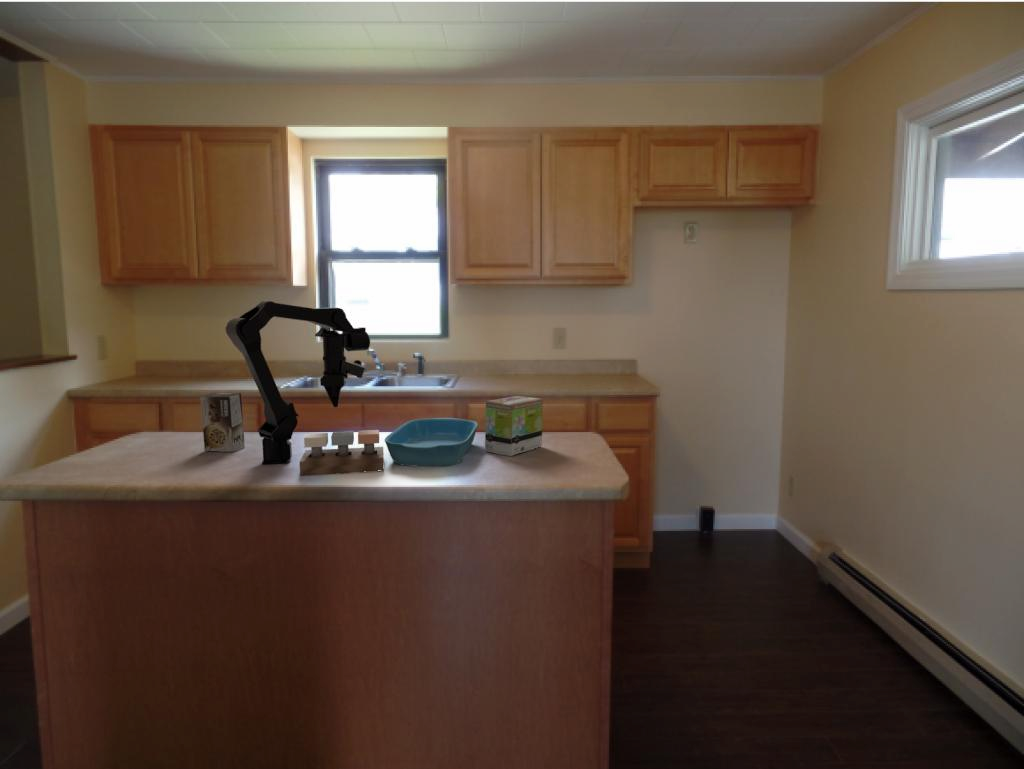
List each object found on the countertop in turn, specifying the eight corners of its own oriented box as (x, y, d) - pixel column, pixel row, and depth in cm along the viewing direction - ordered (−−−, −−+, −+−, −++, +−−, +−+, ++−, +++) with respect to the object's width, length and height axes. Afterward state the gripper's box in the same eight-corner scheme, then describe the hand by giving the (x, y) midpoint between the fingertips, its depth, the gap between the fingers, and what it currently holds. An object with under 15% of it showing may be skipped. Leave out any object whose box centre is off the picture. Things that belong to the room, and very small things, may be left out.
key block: (300, 475, 150) (299, 461, 150) (306, 463, 162) (305, 450, 161) (383, 471, 154) (383, 457, 154) (383, 459, 166) (383, 446, 165)
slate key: (332, 459, 154) (331, 436, 154) (333, 454, 160) (332, 432, 159) (353, 458, 156) (352, 435, 155) (354, 453, 161) (353, 431, 160)
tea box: (512, 457, 168) (512, 404, 166) (484, 452, 174) (483, 400, 172) (543, 447, 180) (543, 397, 178) (516, 442, 186) (516, 394, 184)
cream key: (305, 461, 153) (304, 438, 152) (307, 456, 158) (306, 433, 157) (326, 460, 154) (325, 437, 153) (328, 455, 159) (327, 432, 158)
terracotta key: (358, 457, 156) (357, 434, 155) (359, 452, 161) (358, 430, 160) (379, 456, 157) (378, 433, 156) (379, 451, 162) (379, 429, 161)
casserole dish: (462, 473, 153) (462, 445, 152) (375, 470, 155) (374, 443, 154) (482, 440, 190) (482, 417, 189) (412, 438, 192) (411, 416, 191)
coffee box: (245, 447, 180) (242, 392, 178) (233, 452, 173) (230, 396, 171) (216, 446, 181) (212, 392, 179) (203, 451, 174) (199, 395, 172)
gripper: (361, 354, 166) (363, 411, 168) (364, 349, 184) (365, 400, 186) (319, 355, 163) (321, 413, 165) (325, 350, 181) (327, 402, 183)
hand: (335, 406), depth 175 cm, fingers closed
